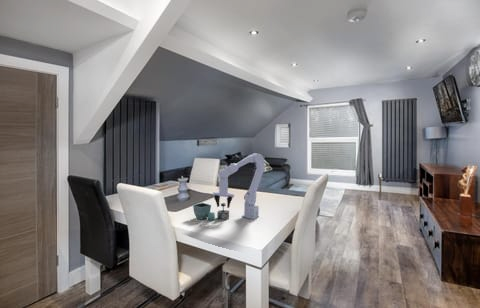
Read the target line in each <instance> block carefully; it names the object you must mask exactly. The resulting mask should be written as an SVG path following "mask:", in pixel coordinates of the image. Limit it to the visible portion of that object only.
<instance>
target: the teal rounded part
mask: <svg viewBox="0 0 480 308" xmlns="http://www.w3.org/2000/svg"><path fill="white" fill-rule="evenodd" d="M215 213H216V212H213V211H210V212H209V213H208V217H207V221H208V222H213V221H215V219H216V215H215Z"/></svg>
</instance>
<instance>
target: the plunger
mask: <svg viewBox="0 0 480 308" xmlns="http://www.w3.org/2000/svg"><path fill="white" fill-rule="evenodd" d="M226 204H227V203H225V202H224V203H223V202H222V203H221V204H220V206H221V207H222V210H223V212H224V211H225V207H227V206H226Z"/></svg>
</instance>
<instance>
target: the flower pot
mask: <svg viewBox="0 0 480 308" xmlns="http://www.w3.org/2000/svg"><path fill="white" fill-rule="evenodd" d="M192 208H193V213H194V216H195V217H196V219H197V220H198V219H199V220H205V219H208V213H209V212H211V208H212V205H211V204H209V203H206V202H200V203H196V204H193V205H192Z"/></svg>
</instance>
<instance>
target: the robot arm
mask: <svg viewBox="0 0 480 308" xmlns="http://www.w3.org/2000/svg"><path fill="white" fill-rule="evenodd" d="M249 163H253V164H254V165H255V166H256V169H255V173H254V175H253V177H252V180H251V182H250V183H251V184H250V186H249V188H248V189H247V191H246V193H245V194H244V195H243V200H244V212H243V213H244V214H243V215H241V217H243V218H246V219H251V220H254V219H256V218H258V217H260V215H259V214H260V213H259V209H260V208H259V206H258V205H257V204H256V201H257V191H258V188H259V185H260V183H261V180H262V177H263V174H264V172H265V169H266V165H265V157H264V156H263V155H262V154H260V153H257V152H254V153H252V154H249V155H248V156H246V157H245V158H243V159H241V160H240V161H238V162H237V163H235V162H233V163H232V162H231V163H230V164H229V165H228V166H226V167H224V168H222V169H220V170H219V172H218V176H219V180H218V181H219V185H218V190H219V191H218V192H213V193H212V196H213V199H214V201H215V203H216V207H217V208H219V207H220V199H221V197H225V198H226V204H227V206H226V207H227V209H229V208H230V206H231V202H232V200H233V198H235V194H234V193H228V192H229V191H228V190H229V182H228V181H229V179H228V178H229V176H231V175H233V174H234V173H236V172H237V171H239V168H241V167H243V166H245V165H247V164H249Z"/></svg>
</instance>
